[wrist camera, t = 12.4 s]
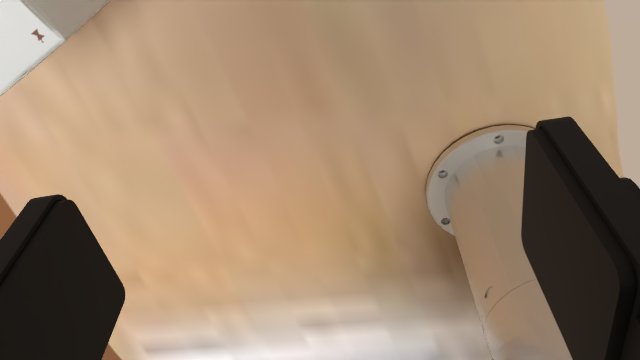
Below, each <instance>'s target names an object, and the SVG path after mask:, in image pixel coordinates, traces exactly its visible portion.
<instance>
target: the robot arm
mask: <svg viewBox="0 0 640 360" xmlns="http://www.w3.org/2000/svg"><path fill="white" fill-rule="evenodd" d="M426 199H427V204H428V207H429V210H430V213H431V215H432V217H433V218H434V220H435V221H436V223H437V224H438V225H439V226H440V227H441V228H442V229H443V230H445V231H446V232H448V233H450V234H451V235H453V236H455V238H456V241H457V244H458V248H459V251H460V254H461V258H462V261H463V264H464V268H465V271H466V274H467V278H468V281H469V284H470V288H471V291H472V294H473V297H474V301H475V304H476V307H477V311H478V314H479V317H480V321H481V324H482V327H483V331H484V334H485V337H486V340H487V343H488V347H489V350H490V353H491V355H492V358H493V360H640V189H639V187H638V186H637V185H636V184H635V183H634V182H633V181H632V180H631V179H628V178H619V177H618V176H617V174H616V173H615V172H614V171H613V169H612V168H611V167H610V165H609V164H608V163H607V162H606V160H605V159H604V158H603V157H602V155H601V154H600V153H599V151H598V150H597V149H596V148H595V146H594V145H593V144H592V142H591V141H590V140H589V139H588V137H587V136H586V135H585V134H584V132H583V131H582V130H581V128H580V127H579V126H578V125H577V123H576V122H575V121H574V119H572V118H571V117H563V118H556V119H550V120H543V121H539V122H538V123H537V125H536V129H533V128H529V127H525V126H518V125H502V126H493V127H489V128H485V129H482V130H478V131H476V132H474V133H471V134H469V135H467V136H465V137H463V138H462V139H460V140H458V141H457V142H455V143H454V144H452V145H451V146H450V147H449V148H448V149H447V150H446V151H444V152H443V153H442V155H441V156H440V157H439V158H438V160H437V161H436V162H435V163H434V165H433V167H432V169H431V171H430V173H429V176H428V179H427V183H426ZM124 300H125V290H124V286H123V284H122V282H121V281H120V279H119V277H118V275H117V274H116V272H115V270H114V269H113V267H112V265H111V264H110V262H109V260H108V258H107V257H106V255H105V253H104V252H103V250H102V248H101V246H100V245H99V243H98V241H97V240H96V238H95V236H94V235H93V233H92V231H91V229H90V228H89V226H88V224H87V223H86V221H85V219H84V217H83V216H82V214H81V212H80V211H79V209H78V207H77V206H76V204H75V203H74V202H73V201H72V200H67V199H66V198H65V197H64V196H63V195H52V196H45V197H39V198H34V199H31V200H30V201H29V202H28V203H27V204H26V206H25V207H24V208H23V210H22V211H21V212H20V214H19V215H18V217H17V218H16V219H15V221H14V222H13V223H12V225H11V226H10V228H9V229H8V230H7V232H6V233H5V235H4V236H3V237H2V238H1V240H0V360H101V359H102V357H103V354H104V352H105V349H106V347H107V344H108V342H109V339H110V337H111V334H112V332H113V329H114V327H115V324H116V321H117V319H118V316H119V314H120V311H121V309H122V306H123V304H124Z"/></svg>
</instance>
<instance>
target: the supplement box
mask: <svg viewBox="0 0 640 360" xmlns="http://www.w3.org/2000/svg"><path fill="white" fill-rule="evenodd" d="M109 1H110V0H0V96H1V95H2V94H4V93H5V92H6V91H7V90H8V89H10V88H11V87H12V86H13V85H15V84H16V83H17V82H18V81H20V80H21V79H22V78H23V77H24V76H26V75H27V74H28V73H29V72H30V71H32V70H33V69H34V68H35V67H36V66H38V65H39V64H40V63H41V62H42V61H43V60H45V59H46V58H47V57H48V56H49V55H51V54H52V53H53V52H54V51H55V50H56V49H57V48H59V47H60V46H61V45H62V44H63V43H64V42H65V41H66V40H67V39H68V38H70V37H71V36H72V35H73V34H74V33H75V32H76V31H77V30H78V29H79V28H80V27H82V26H83V25H84V24H85V23H86V22H87V21H88V20H89V19H90V18H91V17H92V16H93V15H95V14H96V13H97V12H98V11H99V10H100V9H101V8H102V7H103V6H104V5H106V4H107V3H108V2H109Z"/></svg>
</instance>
